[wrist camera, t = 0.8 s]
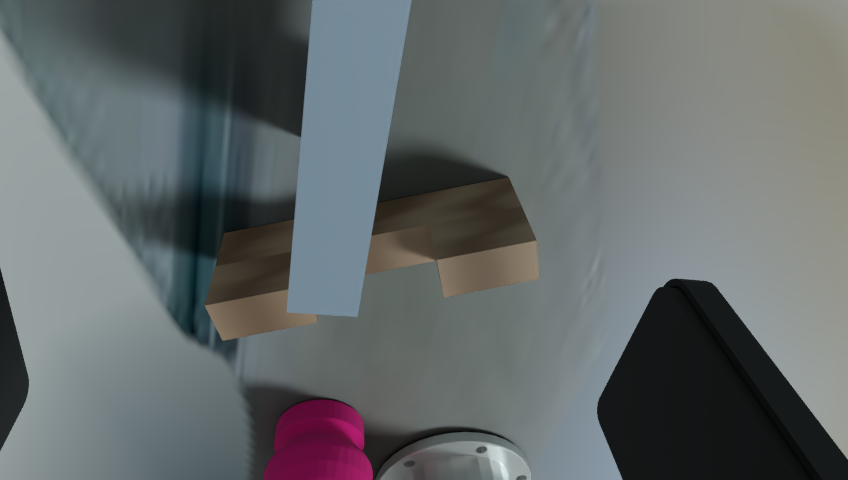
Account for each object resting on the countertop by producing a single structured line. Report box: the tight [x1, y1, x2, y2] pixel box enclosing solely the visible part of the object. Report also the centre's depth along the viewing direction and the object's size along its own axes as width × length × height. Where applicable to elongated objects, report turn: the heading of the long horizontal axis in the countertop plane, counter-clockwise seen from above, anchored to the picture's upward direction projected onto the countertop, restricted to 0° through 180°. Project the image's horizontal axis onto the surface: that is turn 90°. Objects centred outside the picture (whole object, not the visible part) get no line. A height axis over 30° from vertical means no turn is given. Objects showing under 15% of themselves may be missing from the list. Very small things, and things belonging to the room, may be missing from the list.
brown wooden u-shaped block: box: [205, 177, 539, 341], centre depth 32 cm, size 16×2×6 cm, turn 99°
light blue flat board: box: [287, 0, 412, 317], centre depth 22 cm, size 16×2×13 cm, turn 169°
